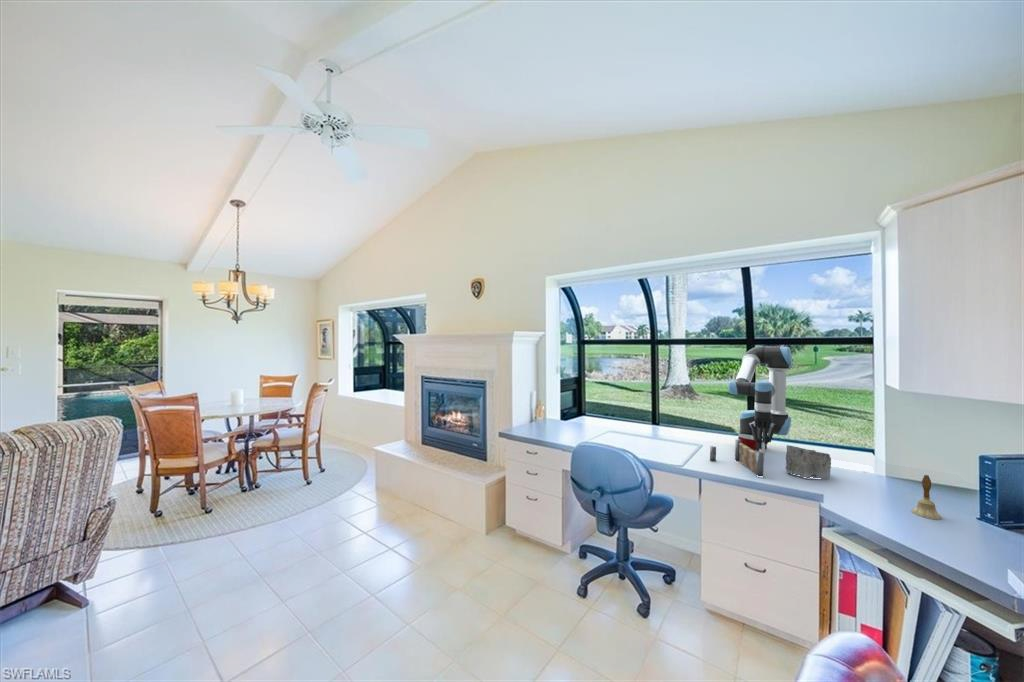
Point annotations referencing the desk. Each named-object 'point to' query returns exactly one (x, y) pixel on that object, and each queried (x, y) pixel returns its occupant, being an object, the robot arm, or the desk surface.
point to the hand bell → (926, 502)
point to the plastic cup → (748, 441)
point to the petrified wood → (808, 463)
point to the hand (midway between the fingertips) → (762, 454)
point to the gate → (747, 456)
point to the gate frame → (759, 457)
